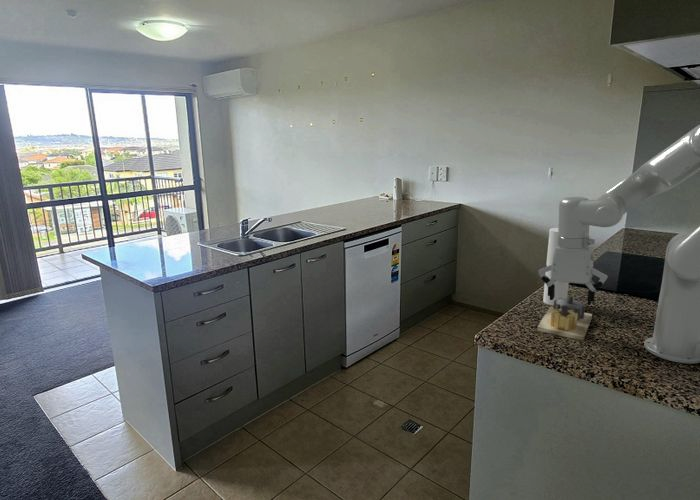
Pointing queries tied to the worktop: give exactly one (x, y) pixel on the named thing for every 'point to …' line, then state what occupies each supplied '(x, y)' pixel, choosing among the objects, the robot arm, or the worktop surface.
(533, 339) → the worktop surface
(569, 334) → the gear board
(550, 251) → the cylindrical container
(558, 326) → the brass gear
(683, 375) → the worktop surface
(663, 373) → the worktop surface
